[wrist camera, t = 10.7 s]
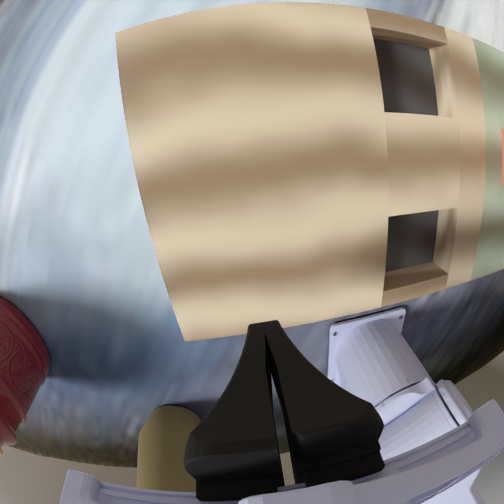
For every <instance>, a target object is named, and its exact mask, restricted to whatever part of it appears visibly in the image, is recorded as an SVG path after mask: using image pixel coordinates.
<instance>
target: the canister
mask: <svg viewBox="0 0 504 504" xmlns="http://www.w3.org/2000/svg"><path fill="white" fill-rule="evenodd" d="M49 367H50V357H49V353H48V351H47V348H46V346H45V344H44V342H43V340H42V338H41V337H40V335H39V333H38V332H37V330H36V329H35V328H34V326H33V325H32V324H31V323H30V321H29V320H28V319H27V318H26V317H25V316H24V315H23V314H22V313H21V312H20V311H19V310H18V309H17V308H16V307H15V306H14V305H12V304H11V303H10V302H8V301H7V300H5V299H3V298H2V297H0V456H2V455H3V451H2V450H1V447H2V446H3V445H15V444H16V442H17V440H16V436H15V431H16V429H17V427H18V426H19V424H22V423H24V422H25V420H26V415H27V413H28V411H29V408H30V406H31V404H32V402H33V400H34V398H35V396H36V394H37V392H38V390H39V388H40V387H41V386H42V385H43V384H44V382H45V380H46V378H47V375H48V370H49Z"/></svg>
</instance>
